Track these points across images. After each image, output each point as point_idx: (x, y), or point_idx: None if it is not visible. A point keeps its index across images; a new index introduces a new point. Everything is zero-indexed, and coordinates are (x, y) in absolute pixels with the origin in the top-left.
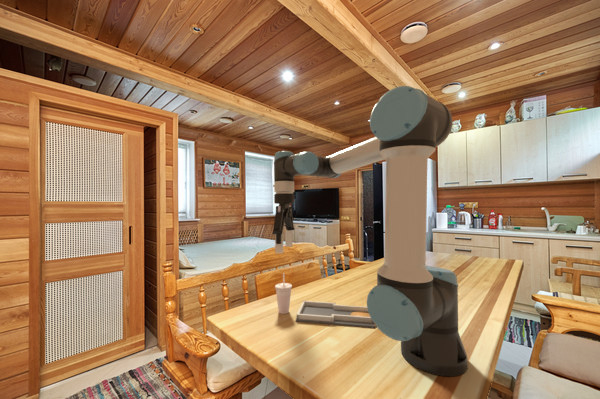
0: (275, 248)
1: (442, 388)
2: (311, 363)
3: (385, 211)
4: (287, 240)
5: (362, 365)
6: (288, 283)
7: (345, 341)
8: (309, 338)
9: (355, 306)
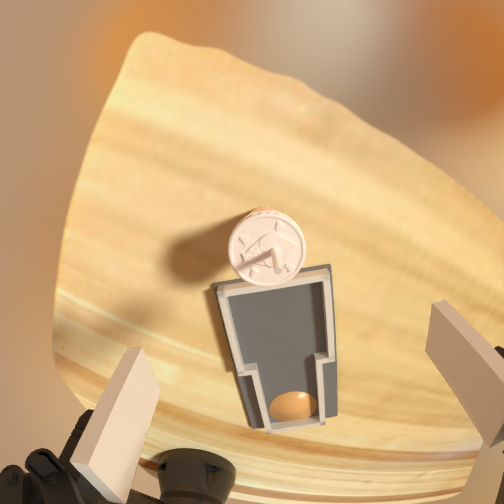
0: (116, 371)
1: (141, 462)
2: (90, 353)
3: None
4: (457, 349)
5: None
6: (300, 261)
7: (177, 392)
8: (152, 335)
9: (321, 401)
